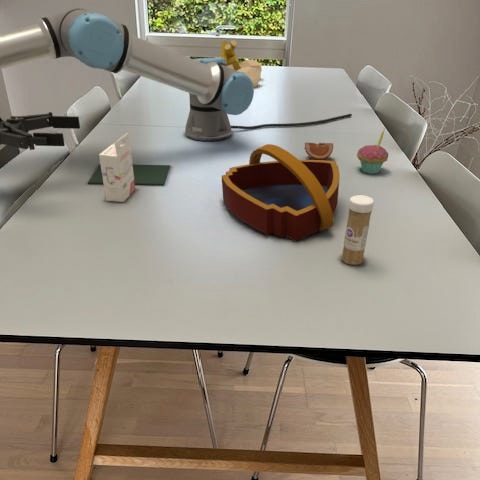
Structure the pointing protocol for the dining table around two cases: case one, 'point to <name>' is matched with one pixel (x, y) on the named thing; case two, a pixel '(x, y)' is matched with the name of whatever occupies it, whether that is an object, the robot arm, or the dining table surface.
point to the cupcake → (372, 157)
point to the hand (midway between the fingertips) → (71, 130)
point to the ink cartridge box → (117, 170)
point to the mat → (139, 175)
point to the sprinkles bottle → (357, 229)
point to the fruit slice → (319, 150)
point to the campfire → (247, 66)
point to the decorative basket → (283, 193)
